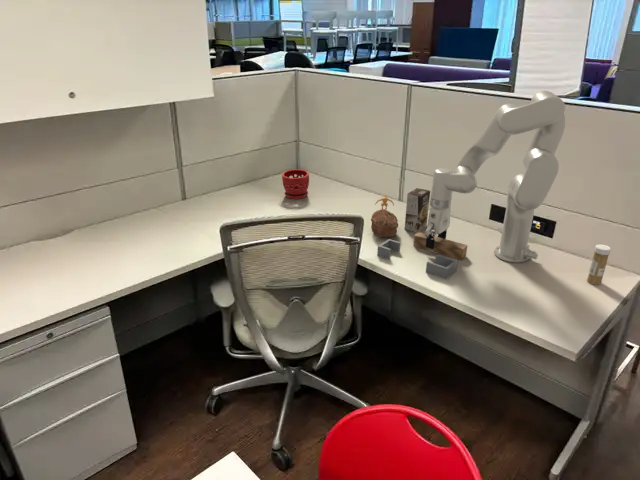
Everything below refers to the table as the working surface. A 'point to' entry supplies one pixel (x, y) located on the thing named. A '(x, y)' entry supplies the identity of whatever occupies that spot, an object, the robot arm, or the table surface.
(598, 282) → the sprinkles bottle
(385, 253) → the end cap
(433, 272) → the end cap
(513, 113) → the robot arm
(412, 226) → the coffee box
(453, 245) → the slat
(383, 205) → the figurine
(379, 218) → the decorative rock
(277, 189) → the table surface
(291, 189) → the plant pot
